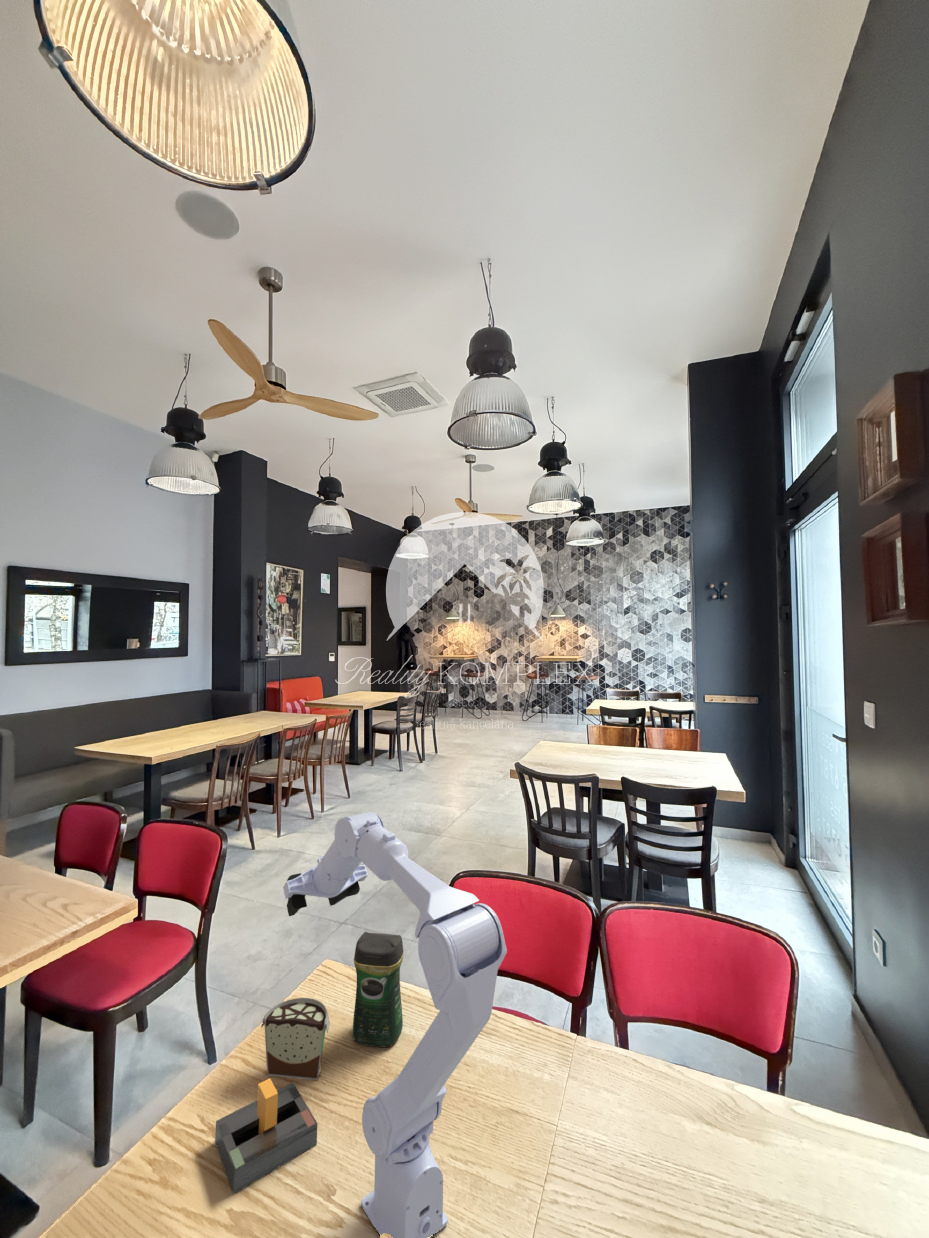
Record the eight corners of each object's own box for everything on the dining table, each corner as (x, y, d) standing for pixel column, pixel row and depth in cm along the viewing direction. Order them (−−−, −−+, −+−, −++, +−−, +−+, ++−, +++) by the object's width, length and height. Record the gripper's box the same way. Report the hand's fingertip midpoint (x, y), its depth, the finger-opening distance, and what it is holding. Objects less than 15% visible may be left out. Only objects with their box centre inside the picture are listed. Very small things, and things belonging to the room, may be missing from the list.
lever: (275, 1144, 78) (278, 1092, 79) (263, 1151, 77) (265, 1099, 77) (267, 1127, 81) (269, 1078, 81) (256, 1133, 80) (258, 1083, 80)
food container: (338, 1054, 97) (339, 998, 98) (326, 1080, 91) (328, 1020, 91) (275, 1049, 98) (277, 993, 99) (259, 1074, 92) (261, 1014, 93)
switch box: (316, 1144, 79) (317, 1123, 79) (233, 1194, 71) (234, 1170, 71) (292, 1100, 86) (293, 1081, 87) (214, 1142, 79) (216, 1120, 79)
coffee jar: (406, 1023, 105) (408, 928, 107) (394, 1052, 97) (397, 949, 99) (361, 1017, 107) (364, 923, 108) (346, 1045, 99) (349, 943, 101)
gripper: (369, 835, 94) (341, 875, 100) (291, 848, 85) (265, 891, 91) (382, 872, 89) (351, 912, 95) (301, 891, 80) (273, 933, 86)
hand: (310, 905), depth 93 cm, fingers open, 7 cm apart
